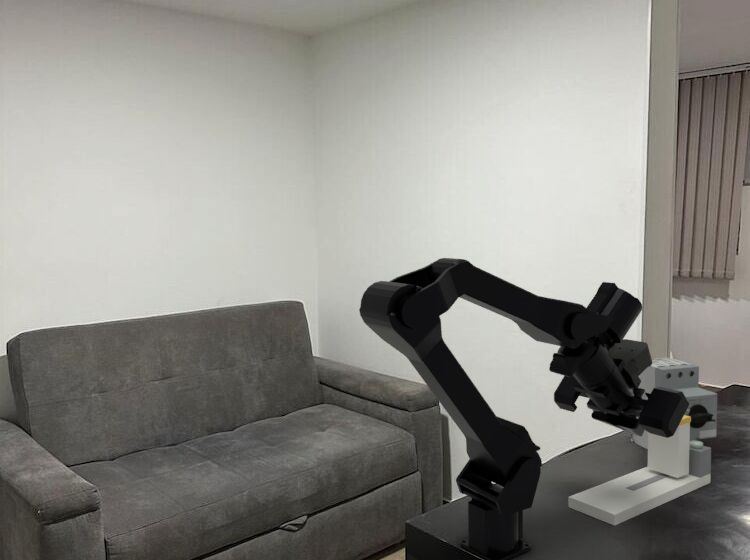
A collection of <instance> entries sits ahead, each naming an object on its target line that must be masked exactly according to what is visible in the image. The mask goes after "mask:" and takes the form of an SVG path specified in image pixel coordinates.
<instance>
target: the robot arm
mask: <svg viewBox="0 0 750 560" xmlns="http://www.w3.org/2000/svg"><path fill="white" fill-rule="evenodd" d="M459 298H460V299H462V300H465V301H466V302H469V303H471V304H474V305H476V306H479V307H481V308H483V309H484V310H485V309H486V310H488V311H490V312H492V313H495V314H497V315H499V316H502V317H504V318H507V319H509V320H511V321H512V322H513V323H515V324H516V325H517V326H518V327H519V329H520V331H522V332H523V333H525V334H526V335H527V336H529V337H530V338H531V339H533V340H534V341H536V342H540V343H544V344H549V345H553V346H557V347H559V348H558V350H557V352H554V353H553V354H552V360H551V361H550V363H549V369H548V371H550V373H554V374H557V375H561V376H563V377H562V379H561V381H560V382H559V384H558V385H557V387H556V389H555V391H554V392H553V401H554V403H555V404H556V406H558V408H559V409H560V410H564V411H568V412H572V413H575V411H576V410H577V409H578V406H577V404H575V403H576V402H577V400H578V399H579V397H583V398H588V401H587V402H586V407H587V409H590V410H592V413H591V419H593V420H596V421H598V422H601V423H604V424H606V425H609V426H612V427H614V428H617V429H619V430H622V431H625V432H626V433H630V434H632V435H633V434H634V435H636V436H640V437H641V436H642V435H643V433H644V430H646V431H647V432H649V433H651V434H655V435H659V436H662V437H666V438H669V437H671V436H673V435H674V433H675V432H676V430H677V428H678V426H679V424H680V422H681V420H682V418H683V416H684V414H685V412H686V410H687V408H688V406H689V402H688V400H687V398H686V397H685V395H684V394H683V392H682V391H677V390H672V389H668V388H663V387H656V388H653V390H652V392H651V394H650V393H646V391H645V389H641V388H638V387H639V385H640V383H641V380H640V378H639V377H638V376H639V375H640V374H641V373H642V372H643V371H644V370H645V369H646V368H647V367H650V366H651V365H652V359H653V358H652V356H651V352H650V349H649V344H648V343H647V342H645V341H639V340H633V339H624V338H625V337H626V335H627V334H628V333H629V331H630V329H631V327H632V326H633V325H634V323H635V321H636V320H637V319H638V318H639V317H638V316H639V315H640V314H641V312H642V311H643V304H642V302H641V301H640V300H639V298H638V297H635V296H634V295H633V294H631V293H629V291H626V290H625V289H622V288H619V287H618V286H617V284H616V283H615V282H606V281H602V282H601V284H600V286H599V287H598V289H597V291H596V293H595V295H594V296H593V298H592V299H591V300H590V302H589V303H588V304H587V307H586V306H585V305H583V304H581V303H576V302H573V301H566V300H562V299H556V298H551V297H546V296H540V295H537V294H535V293H532V292H531V291H528V290H526V289H524V288H523V287H520V286H518V285H516V284H514V283H511V282H509V281H507V280H505V279H503V278H501V277H499V276H496V275H494V274H493V273H490V272H487V271H486V270H484V269H481V268H479V267H477V266H475V265H474V264H472V263H471V262H470V261H468V260H467V259H463V258H455V257H454V258H452V257H451V258H450V257H442V258H438V259H437V260H435V261H433V262H430V263H429V264H428V265H425V266H424V267H421V268H418V269H415V270H412V271H410V272H408V273H405V274H402V275H399V276H397V277H395V278H393V279H391V280H389V281H387V280H380V281H375V282H374V283H372V284H371V285H370V286H368V287H367V289H366V290H365V291H364V292H363V294H362V297H361V299H360V307H359V310H358V311H359V315H360V318H361V319H362V321H363V323H364V324H365V325H366V326H367V327H368V328H369V329H370V330H371V331H372V332H374V333H375V335H377V336H378V337H379V338H380V339H381V340H382V341H383V342H385V343H387V344H389V345H390V346H391V347H392V348H394V349H395V350H396V351H398V352H399V353H400V354H402V355H404V357H406V358H407V359H408V361H409V362H410V363H411V365H412V366H413V368H414V369H415V370H416V372H417V373H418V375H419V376H420V378H421V379H422V380H423V382H425V385H426V386H427V387H428V388H429V390H430V391H431V392H432V394H433V395H434V396H435V398H436V399H437V400H438V402H439V403H440V404H441V406H442V408H443V409H444V410H445V411H446V412H447V414H448V416H449V417H450V418H451V420H452V422H454V423H455V425H456V426H457V427H458V429H459V430H460V431H461V433H462V434H463V435H464V437H465V443H466V444H465V445H466V454H467V456H468V458H469V459H468V460H467V462H466V464H465V465H464V467H463V468H462V469H461V471H460V472H459V474H458V475H457V477H455V481H456V482H455V483H456V485H457V489H458V492H459V493H461V494H462V495H465V496H467V497H469V498H471V500H468V502H467V520H468V521H467V524H468V525H467V529H468V530H467V531H468V532H467V533H468V534H467V536H468V537H466V538H464V539H461V540H460V541H459V546H461V547H462V548H464V549H465V550H468V551H469V552H471V553H473V554H475V555H477V556H479V558H482V559H484V560H509V559H512V558H514V557H516V556H519V555H521V554H523V553H525V552H528V551H530V550H531V548H532V545H531V544H530V543H529V542H526V541H524V540H523V538H524V537H523V536H524V533H523V532H524V531H523V530H524V528H523V527H524V525H523V524H524V522H523V520H524V518H523V517H524V513H523V512H524V511H525V510H528V509H531V508H532V506H533V503H534V501H535V500H534V499H535V496H536V491H537V487H538V484H539V480H540V477H541V467H543V461H542V458H541V455H540V454H539V452H538V451H540V450H541V447H540V446H538V445H537V444H536V443H535V442H534V441H533V440H532V437H531V435H530V432H529V431H528V430H527V429H526V427H525V426H524V425H522V424H518V423H516V422H514V421H511V420H508V419H505V418H503V417H500V416H497V415H496V414H495V412H494V410H493V409H492V408H491V407H490V405H489V404H488V402H487V401H486V399H485V398H484V396H483V395H482V393H481V392H480V391H479V390H478V388H477V387H476V385H475V384H474V382H473V381H472V379H471V378H470V377H469V375H468V374H467V372H466V370H464V368H463V367H462V365H461V364H460V362H459V361H458V360H457V358H456V356H455V355H454V354H453V352H452V350H451V349H450V347H448V345H447V344H446V342H445V341H444V339H443V333H442V319H441V317H440V316H442V315H443V314H445V313H447V312H448V311H450V309H451V308H452V306H453V305H454V304H455V303H456V301H457V300H458V299H459Z"/></svg>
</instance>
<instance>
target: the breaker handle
mask: <svg viewBox="0 0 750 560" xmlns="http://www.w3.org/2000/svg"><path fill="white" fill-rule="evenodd" d="M690 422H691V417H690V416H686V415H684V416H683V418H682V420H681V422H680V424H679V426H678V428H677V430H676V432H675V433H674V435H673V436H671V437H669V438H666V437H662V436H659V435H655V434H651V433H649V432H648V449H647V466H648V469H651V470H654V471H657V472H660V473H663V474H666V475H670V476H673V477H676V478H679V477H681V476H684V475H686V474H689V443H690Z"/></svg>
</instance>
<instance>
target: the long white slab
mask: <svg viewBox="0 0 750 560" xmlns="http://www.w3.org/2000/svg"><path fill="white" fill-rule="evenodd" d="M711 466H712V447H711V446H705V445H704V442H703V441H700V440H697V441H696V440H692V441H690V443H689V474H686V475H684V476H681V477H679V478H676V477H673V476H670V475H666V474H663V473H660V472H657V471H654V470H651V469H648V465H647V466H645V467H643V468H640V469H637V470H635V471H632V472H629V473H627V474H625V475H622V476H619V477H616V478H614V479H611V480H609V481H606V482H603V483H601V484H599V485H596V486H593V487H590V488H587V489H585V490H582V491H580V492H578V493H575V494H572V495H570V496H568V502H567V503H568V508H570V509H573V510H575V511H578V512H580V513H582V514H585V515H587V516H590V517H592V518H595V519H597V520H599V521H603V522H605V523H607V524H609V525H612V526H617V525H619V524H622V523H623V522H626V521H628V520H630V519H633V518H635V517H637V516H639V515H641V514H644V513H646V512H648V511H650V510H653V509H656V508H657V507H659V506H662V505H663V504H666V503H668V502H671V501H673V500H675V499H677V498H680V497H681V496H684V495H686V494H688V493H690V492H693V491H696V490H698V489H699V488H702V487H704V486H706V485H709V484H711V478H712V477H711V473H712V472H711V471H712V470H711V469H712V467H711Z"/></svg>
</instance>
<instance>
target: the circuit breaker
mask: <svg viewBox="0 0 750 560" xmlns="http://www.w3.org/2000/svg"><path fill="white" fill-rule="evenodd" d="M651 359H652V365H651V366H650V367H647V368H646V369H645V370H644V371H643V372H642V373H641V374H640V375H639V376H638V377H639V378H640V380H641V383H640V385H639V387H638V388H641V389H645V391H646V393H650V394H651V392H652V390H653V388H656V387H663V388H668V389H672V390H677V391H682V392H683V394H684V395H685V397H686V398H687V400H688V402H689V406H688V408H687V410H686V412H685V414H684V415H686V416H690V417H691V422H690V441H692V440H696V441H698V440H704V439H712V438H713V439H714V438H717V425H718V424H717V423H718V421H717V419H718V393H716V392H713V391H710V390H707V389H706V388H705V389H704V388H702V387H700V386H699V383H700V382H699V380H700V379H699V378H700V376H699V375H700V366H699V365H697V364H693V363H690V362H685V361H682V360H678V359H675V358H670V357H658V358H657V357H656V358H651ZM630 442H633V443H635V444H636V445H638V446H640V447H642V448H644V449H646V450H648V432H647V431H646V430H644V433H643V435H642V436H641V437H640V436H636V435H634V434H632V438H630Z"/></svg>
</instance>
